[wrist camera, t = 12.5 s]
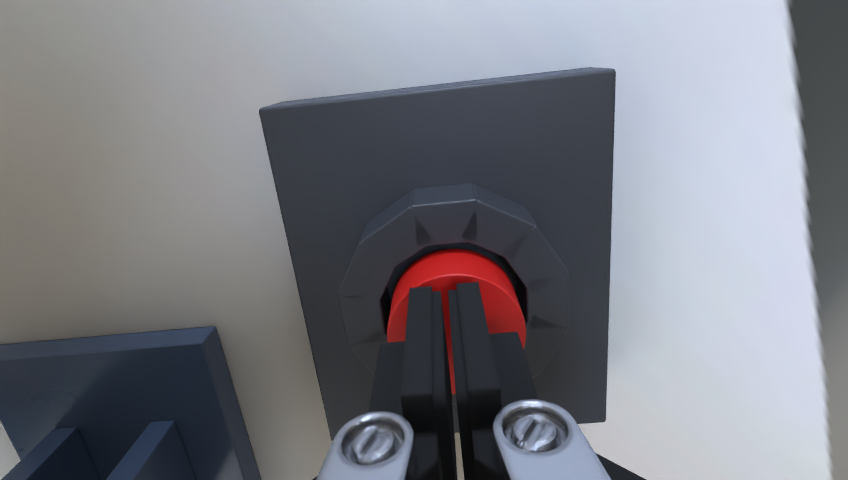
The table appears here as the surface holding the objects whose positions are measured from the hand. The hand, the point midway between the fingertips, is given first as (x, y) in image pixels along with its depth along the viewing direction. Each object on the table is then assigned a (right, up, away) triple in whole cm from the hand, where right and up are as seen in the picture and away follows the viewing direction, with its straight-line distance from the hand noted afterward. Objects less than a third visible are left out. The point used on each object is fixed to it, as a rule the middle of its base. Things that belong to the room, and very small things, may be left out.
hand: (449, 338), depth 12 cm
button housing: (0, +2, +6) cm, 6 cm away
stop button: (0, +1, +2) cm, 2 cm away
